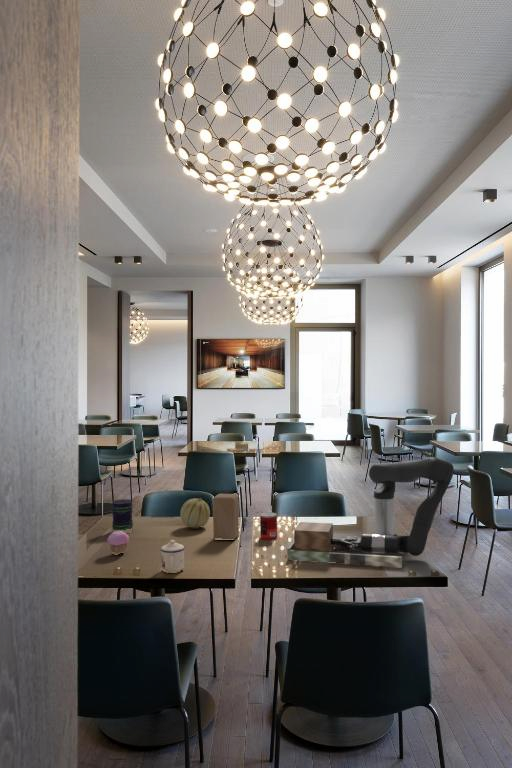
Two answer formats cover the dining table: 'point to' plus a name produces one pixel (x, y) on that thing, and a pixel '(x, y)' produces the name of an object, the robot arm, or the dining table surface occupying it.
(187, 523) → the cantaloupe
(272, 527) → the canned food
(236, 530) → the block
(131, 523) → the navy striped cylinder
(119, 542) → the cupcake
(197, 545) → the dining table surface
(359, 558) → the tray
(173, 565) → the teacup with lid
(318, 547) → the walnut block
